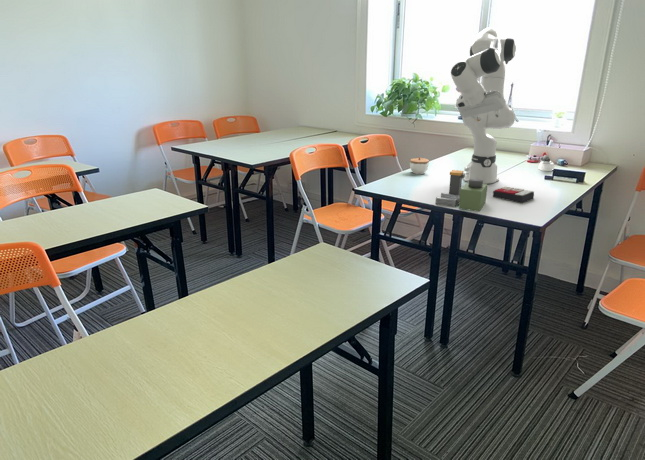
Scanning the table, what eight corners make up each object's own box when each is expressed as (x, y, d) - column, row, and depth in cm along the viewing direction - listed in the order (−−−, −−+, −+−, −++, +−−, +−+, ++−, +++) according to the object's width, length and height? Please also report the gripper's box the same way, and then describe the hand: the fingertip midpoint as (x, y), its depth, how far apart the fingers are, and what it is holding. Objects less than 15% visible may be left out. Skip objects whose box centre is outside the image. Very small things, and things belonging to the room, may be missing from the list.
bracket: (435, 203, 217) (436, 197, 216) (441, 198, 225) (441, 192, 224) (455, 206, 213) (455, 200, 212) (460, 201, 220) (460, 195, 219)
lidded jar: (405, 172, 276) (406, 156, 273) (421, 170, 280) (422, 154, 277) (416, 176, 267) (417, 159, 264) (431, 174, 271) (432, 158, 268)
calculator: (504, 185, 233) (534, 190, 222) (504, 194, 234) (533, 199, 223) (492, 189, 226) (522, 194, 215) (492, 198, 228) (522, 203, 217)
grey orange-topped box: (447, 196, 228) (449, 172, 223) (450, 194, 232) (452, 169, 228) (461, 198, 225) (463, 173, 221) (463, 195, 229) (465, 171, 225)
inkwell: (555, 168, 279) (558, 151, 276) (551, 175, 265) (554, 157, 261) (538, 167, 284) (541, 150, 280) (534, 173, 269) (536, 156, 266)
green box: (458, 208, 211) (460, 182, 206) (464, 200, 221) (467, 175, 217) (479, 211, 206) (482, 184, 202) (485, 203, 217) (488, 177, 213)
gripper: (499, 84, 197) (513, 108, 205) (456, 96, 213) (470, 118, 220) (495, 94, 195) (509, 118, 202) (452, 106, 210) (466, 127, 217)
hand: (488, 118), depth 211 cm, fingers open, 8 cm apart
